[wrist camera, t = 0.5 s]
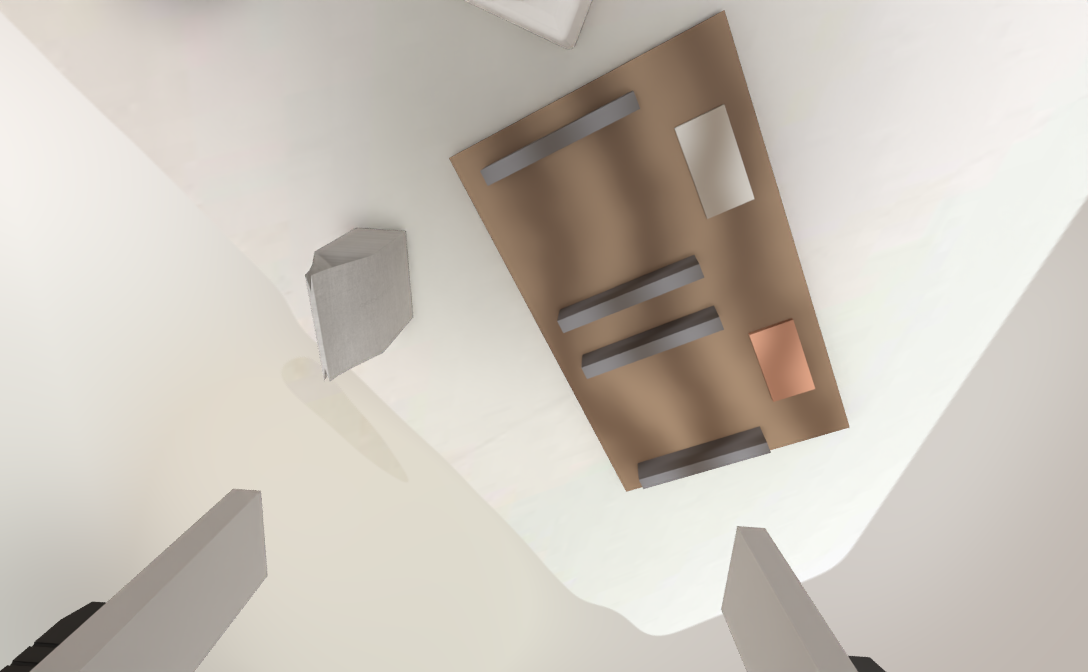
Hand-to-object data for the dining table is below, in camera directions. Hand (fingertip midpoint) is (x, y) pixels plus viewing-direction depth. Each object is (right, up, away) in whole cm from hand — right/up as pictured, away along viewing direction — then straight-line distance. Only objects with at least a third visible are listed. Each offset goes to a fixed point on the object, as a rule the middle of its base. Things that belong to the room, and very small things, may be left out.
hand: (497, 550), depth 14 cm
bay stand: (+10, +9, +23) cm, 26 cm away
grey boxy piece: (-11, +11, +24) cm, 29 cm away
